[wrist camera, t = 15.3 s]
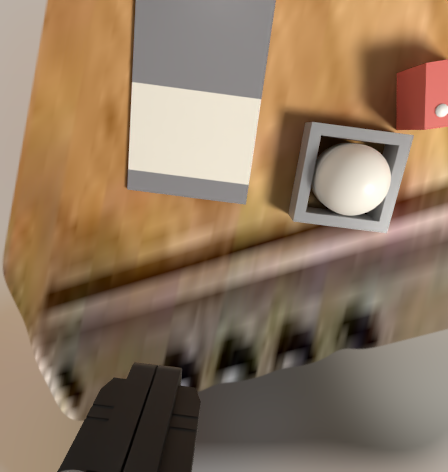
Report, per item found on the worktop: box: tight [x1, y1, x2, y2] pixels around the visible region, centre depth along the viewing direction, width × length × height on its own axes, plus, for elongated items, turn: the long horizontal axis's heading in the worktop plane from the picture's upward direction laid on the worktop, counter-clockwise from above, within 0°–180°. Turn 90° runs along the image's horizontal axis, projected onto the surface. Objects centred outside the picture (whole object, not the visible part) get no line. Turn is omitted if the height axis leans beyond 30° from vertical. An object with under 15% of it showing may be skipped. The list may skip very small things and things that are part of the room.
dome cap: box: [311, 143, 391, 216], centre depth 31 cm, size 6×6×6 cm
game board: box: [127, 0, 276, 204], centre depth 31 cm, size 12×28×1 cm, turn 173°
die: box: [396, 60, 448, 130], centre depth 30 cm, size 5×5×5 cm
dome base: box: [288, 122, 414, 233], centre depth 33 cm, size 9×9×3 cm
